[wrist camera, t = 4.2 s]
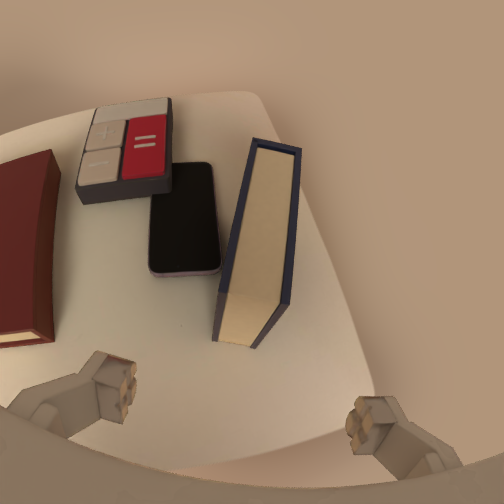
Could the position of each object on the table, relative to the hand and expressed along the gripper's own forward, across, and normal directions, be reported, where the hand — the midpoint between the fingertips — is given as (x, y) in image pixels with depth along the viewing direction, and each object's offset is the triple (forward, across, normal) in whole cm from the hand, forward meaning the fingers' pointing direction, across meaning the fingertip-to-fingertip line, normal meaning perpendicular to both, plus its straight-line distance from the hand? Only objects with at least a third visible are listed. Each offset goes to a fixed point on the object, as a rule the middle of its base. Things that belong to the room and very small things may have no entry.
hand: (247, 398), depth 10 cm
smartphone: (+25, +8, -1) cm, 26 cm away
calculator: (+30, +17, -7) cm, 35 cm away
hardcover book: (+20, 0, +3) cm, 21 cm away
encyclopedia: (+18, +29, +6) cm, 34 cm away
